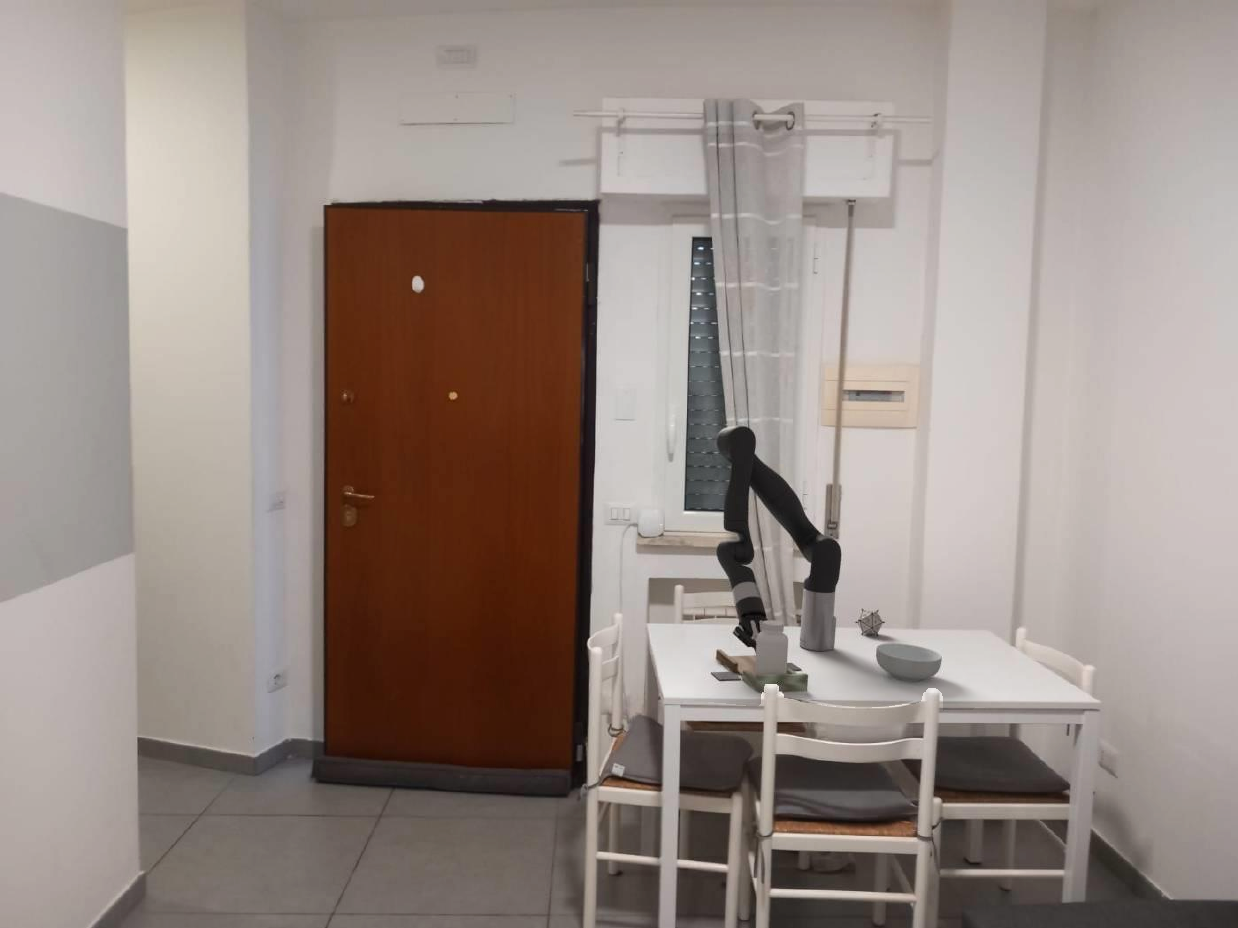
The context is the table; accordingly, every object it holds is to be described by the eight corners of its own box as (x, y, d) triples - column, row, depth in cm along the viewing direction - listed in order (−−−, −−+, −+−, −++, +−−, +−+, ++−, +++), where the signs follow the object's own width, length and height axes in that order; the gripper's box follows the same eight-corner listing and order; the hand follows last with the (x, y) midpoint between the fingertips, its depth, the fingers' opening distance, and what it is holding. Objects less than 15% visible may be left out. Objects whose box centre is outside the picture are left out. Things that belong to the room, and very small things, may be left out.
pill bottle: (754, 673, 229) (758, 617, 227) (785, 677, 227) (789, 620, 226) (753, 683, 221) (757, 624, 220) (786, 686, 219) (790, 627, 218)
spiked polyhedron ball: (871, 644, 280) (887, 619, 282) (876, 642, 272) (893, 616, 274) (846, 628, 282) (863, 603, 284) (851, 625, 274) (868, 599, 276)
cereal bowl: (933, 691, 224) (935, 664, 223) (867, 678, 232) (869, 652, 231) (944, 675, 239) (946, 649, 238) (882, 663, 247) (884, 638, 246)
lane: (781, 656, 248) (782, 642, 248) (829, 689, 221) (831, 674, 221) (694, 658, 241) (695, 644, 241) (733, 693, 214) (734, 677, 214)
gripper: (730, 595, 234) (744, 653, 223) (775, 595, 238) (792, 652, 227) (721, 609, 240) (735, 667, 229) (766, 609, 243) (782, 666, 232)
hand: (763, 660), depth 228 cm, fingers closed
